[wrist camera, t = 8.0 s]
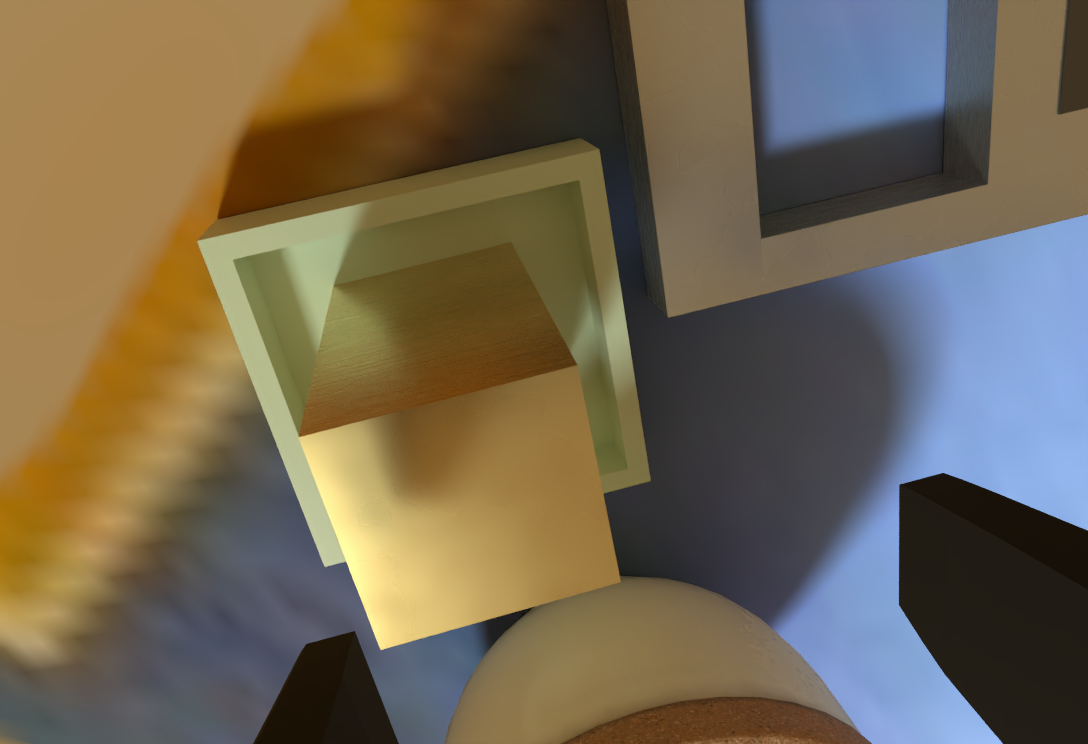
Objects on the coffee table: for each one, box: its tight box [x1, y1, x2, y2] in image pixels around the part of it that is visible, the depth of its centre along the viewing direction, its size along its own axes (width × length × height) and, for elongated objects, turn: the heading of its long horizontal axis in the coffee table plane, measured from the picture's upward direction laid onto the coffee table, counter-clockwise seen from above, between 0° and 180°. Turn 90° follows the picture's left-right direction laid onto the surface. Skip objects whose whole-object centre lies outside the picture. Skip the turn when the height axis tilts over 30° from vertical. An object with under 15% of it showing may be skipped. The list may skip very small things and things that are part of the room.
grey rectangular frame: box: [606, 0, 1088, 318], centre depth 17 cm, size 13×8×2 cm, turn 101°
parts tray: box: [197, 138, 651, 567], centre depth 18 cm, size 8×8×2 cm
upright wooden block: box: [298, 242, 621, 650], centre depth 15 cm, size 4×4×7 cm
